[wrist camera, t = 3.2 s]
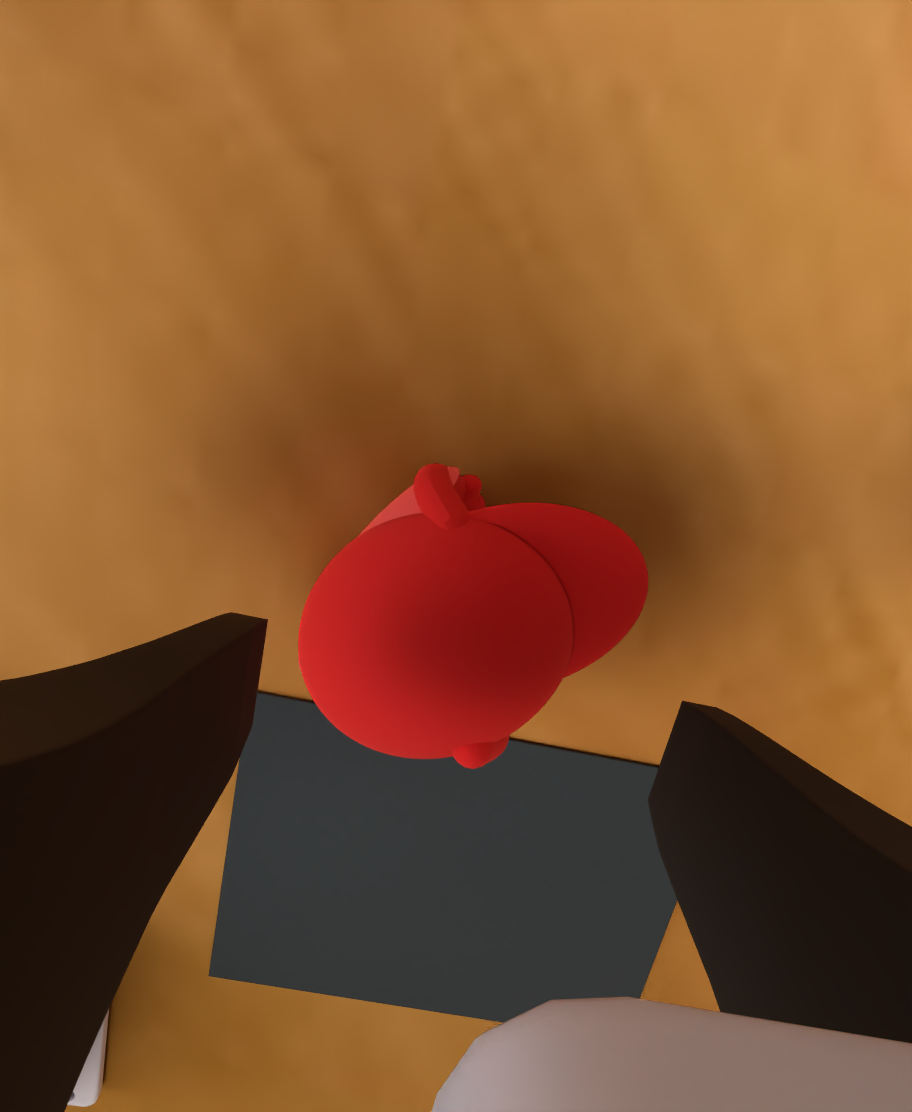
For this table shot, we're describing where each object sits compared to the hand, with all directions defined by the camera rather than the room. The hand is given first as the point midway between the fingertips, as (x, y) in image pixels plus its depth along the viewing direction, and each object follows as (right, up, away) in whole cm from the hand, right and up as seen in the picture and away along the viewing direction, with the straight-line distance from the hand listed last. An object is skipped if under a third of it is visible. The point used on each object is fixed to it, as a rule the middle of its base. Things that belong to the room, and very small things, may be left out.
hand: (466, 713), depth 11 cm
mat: (0, -7, +10) cm, 12 cm away
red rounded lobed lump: (0, +2, +7) cm, 7 cm away
